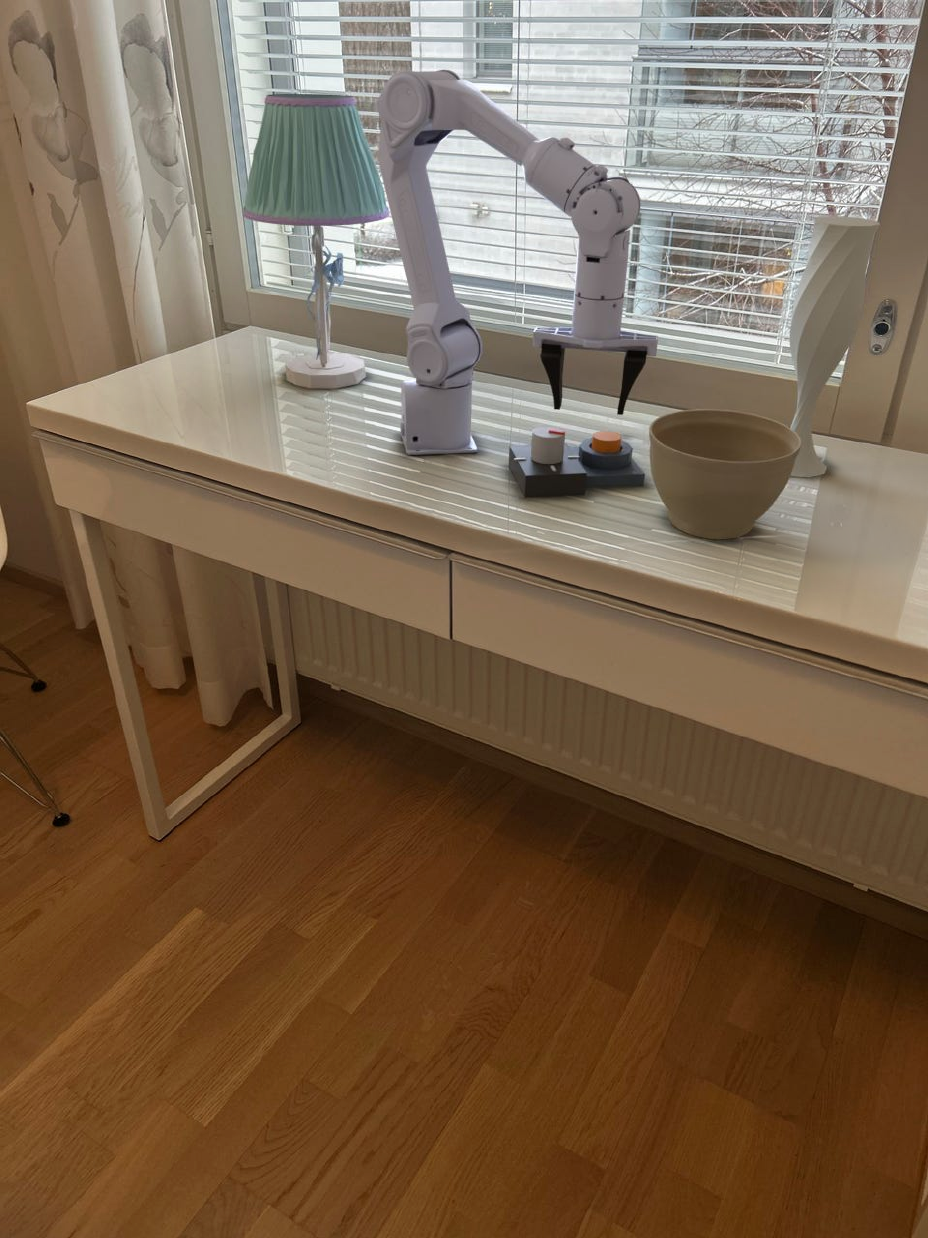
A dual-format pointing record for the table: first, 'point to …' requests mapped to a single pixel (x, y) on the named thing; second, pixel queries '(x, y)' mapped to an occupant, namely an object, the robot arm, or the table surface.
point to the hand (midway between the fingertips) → (588, 409)
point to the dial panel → (546, 474)
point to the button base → (609, 466)
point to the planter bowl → (720, 468)
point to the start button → (606, 442)
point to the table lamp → (316, 203)
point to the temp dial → (547, 445)
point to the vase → (826, 317)
